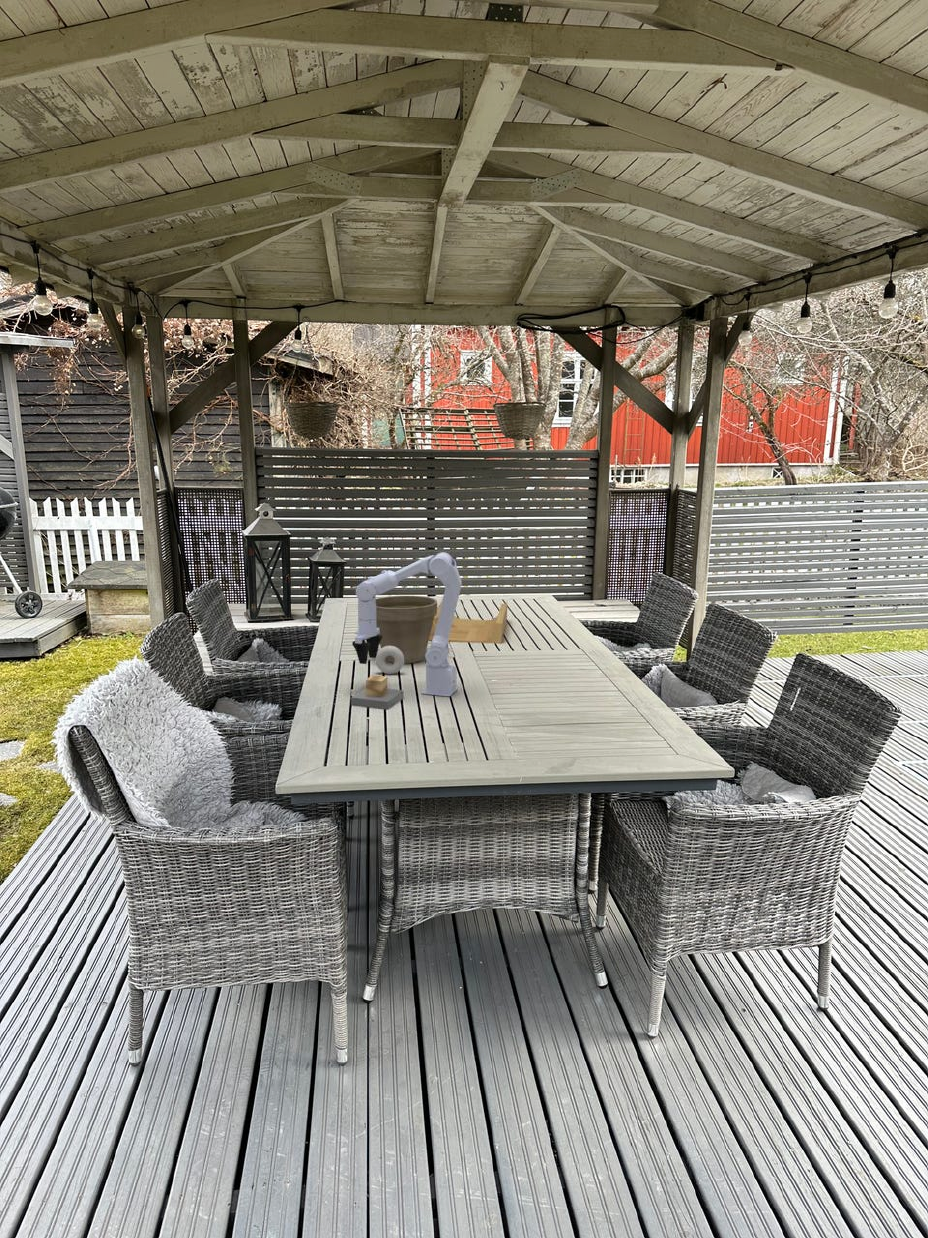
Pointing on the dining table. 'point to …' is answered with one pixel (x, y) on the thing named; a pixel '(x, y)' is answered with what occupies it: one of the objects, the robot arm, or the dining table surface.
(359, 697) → the slate block
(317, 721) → the dining table surface
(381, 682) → the oak cube
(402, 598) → the plant pot
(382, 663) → the donut
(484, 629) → the skate ramp
